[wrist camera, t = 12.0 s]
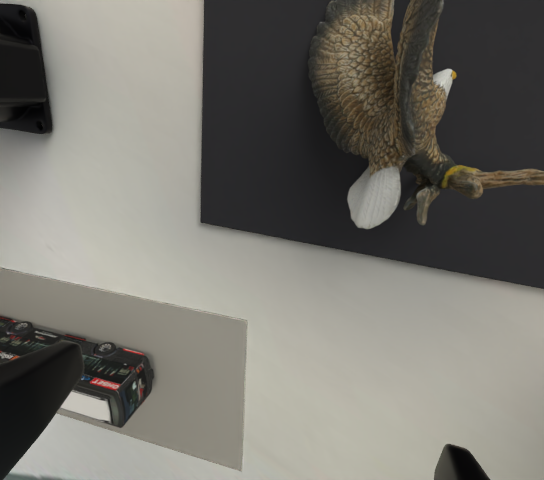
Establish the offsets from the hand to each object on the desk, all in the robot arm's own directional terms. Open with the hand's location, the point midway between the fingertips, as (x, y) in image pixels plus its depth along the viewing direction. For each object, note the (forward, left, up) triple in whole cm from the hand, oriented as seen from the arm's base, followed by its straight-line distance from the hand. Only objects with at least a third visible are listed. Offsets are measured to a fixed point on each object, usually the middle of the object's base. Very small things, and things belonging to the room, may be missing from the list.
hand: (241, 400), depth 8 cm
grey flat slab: (-16, -15, -12) cm, 25 cm away
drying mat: (+3, +6, -12) cm, 14 cm away
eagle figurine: (+3, +7, -12) cm, 14 cm away
